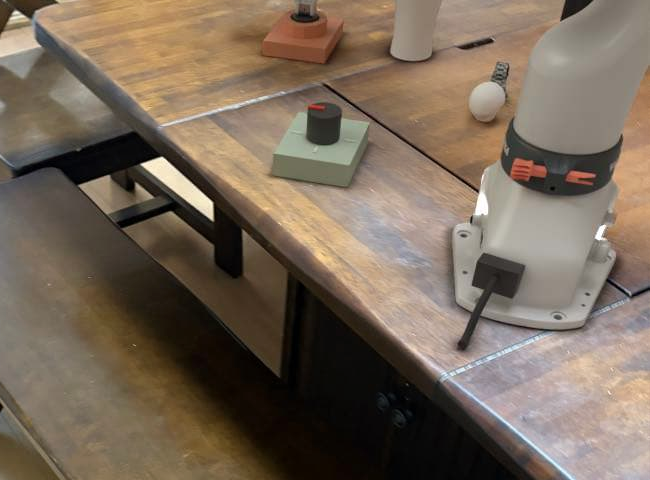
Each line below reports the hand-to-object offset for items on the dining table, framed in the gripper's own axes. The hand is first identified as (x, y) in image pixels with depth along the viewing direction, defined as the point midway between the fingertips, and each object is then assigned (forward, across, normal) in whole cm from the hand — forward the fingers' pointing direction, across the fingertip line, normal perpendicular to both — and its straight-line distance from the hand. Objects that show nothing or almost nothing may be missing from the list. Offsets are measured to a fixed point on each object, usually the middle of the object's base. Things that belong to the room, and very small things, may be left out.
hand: (305, 14), depth 136 cm
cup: (+4, -17, -2) cm, 18 cm away
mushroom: (+4, -31, +17) cm, 36 cm away
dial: (+1, -12, +35) cm, 37 cm away
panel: (+4, -12, +35) cm, 37 cm away
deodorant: (+4, -41, +6) cm, 42 cm away
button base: (+4, 0, 0) cm, 4 cm away
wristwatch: (+4, -32, +10) cm, 34 cm away
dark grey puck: (+2, 0, 0) cm, 2 cm away
